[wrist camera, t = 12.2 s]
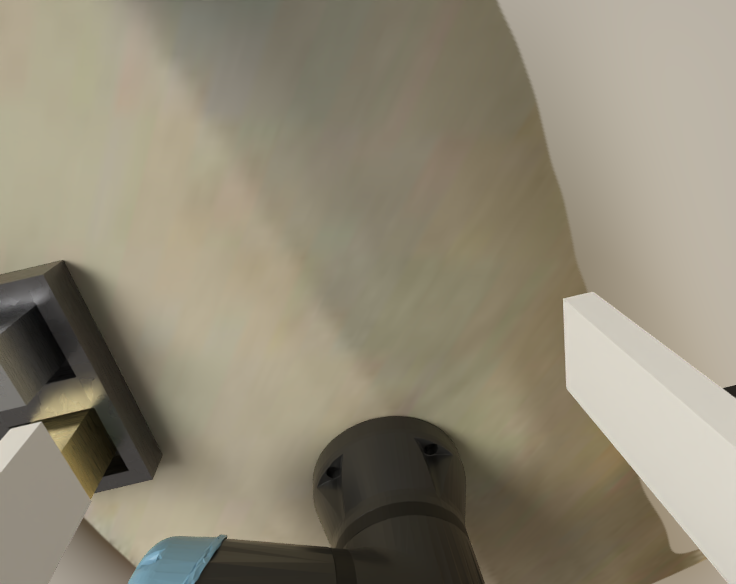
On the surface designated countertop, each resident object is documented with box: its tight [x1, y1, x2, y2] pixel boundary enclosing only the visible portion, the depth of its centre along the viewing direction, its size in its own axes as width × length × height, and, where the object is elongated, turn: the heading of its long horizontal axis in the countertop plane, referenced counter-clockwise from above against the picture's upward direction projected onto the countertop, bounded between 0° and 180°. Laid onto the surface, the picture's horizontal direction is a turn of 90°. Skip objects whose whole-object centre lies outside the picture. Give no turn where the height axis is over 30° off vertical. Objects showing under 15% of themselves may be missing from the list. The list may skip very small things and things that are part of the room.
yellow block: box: [30, 407, 117, 500], centre depth 39 cm, size 5×5×7 cm
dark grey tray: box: [0, 260, 162, 493], centre depth 39 cm, size 20×10×3 cm, turn 12°
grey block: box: [0, 301, 67, 411], centre depth 35 cm, size 5×5×7 cm
